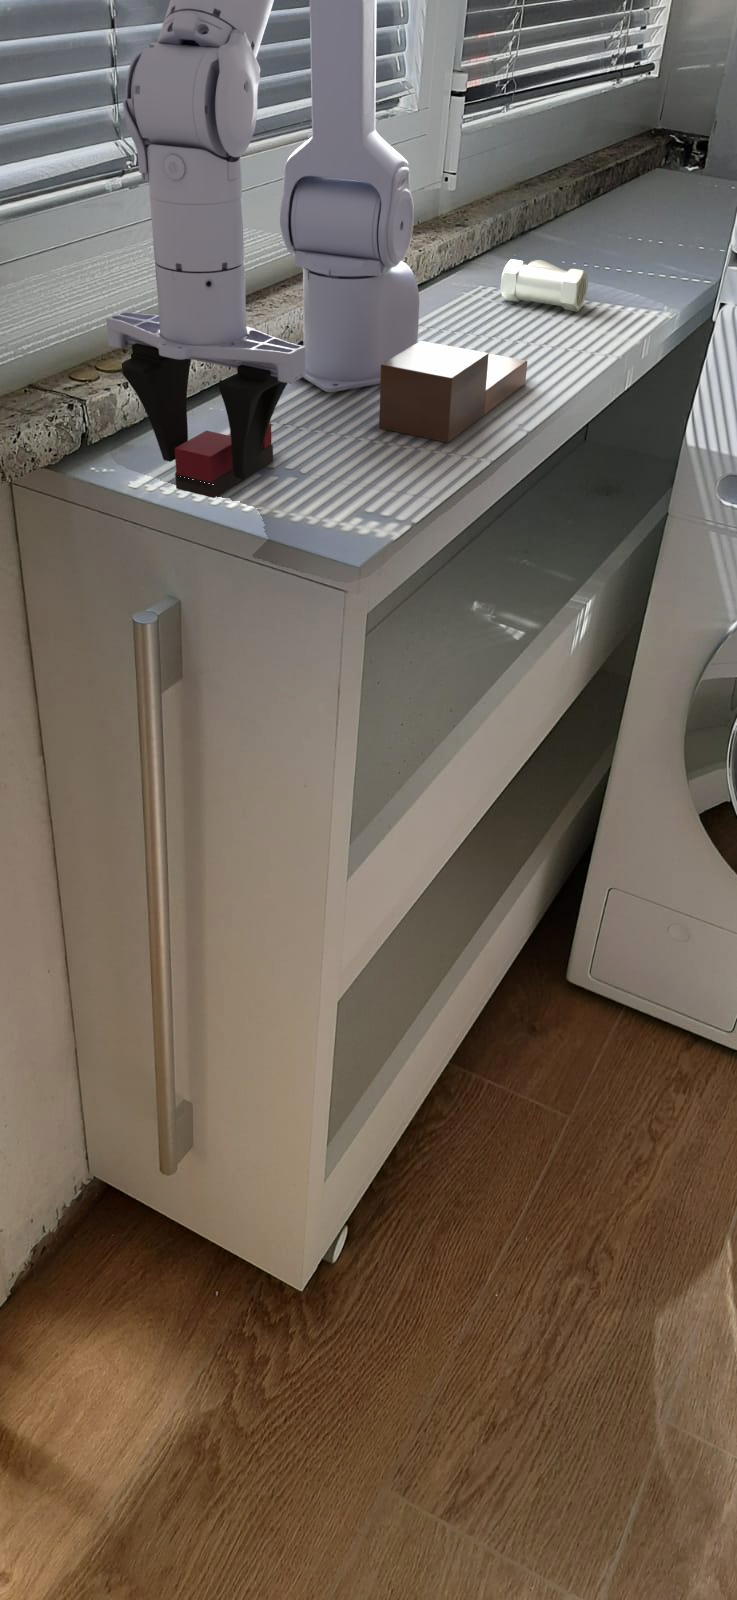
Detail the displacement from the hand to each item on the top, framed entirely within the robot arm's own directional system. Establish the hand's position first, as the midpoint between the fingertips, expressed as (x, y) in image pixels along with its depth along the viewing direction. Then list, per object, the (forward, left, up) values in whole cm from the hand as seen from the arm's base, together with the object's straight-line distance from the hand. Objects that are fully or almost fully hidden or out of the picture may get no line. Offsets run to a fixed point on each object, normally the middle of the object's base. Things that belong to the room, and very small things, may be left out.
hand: (210, 465), depth 89 cm
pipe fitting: (-50, -26, -2) cm, 57 cm away
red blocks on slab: (-2, -1, -1) cm, 2 cm away
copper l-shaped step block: (-25, -5, -1) cm, 25 cm away
